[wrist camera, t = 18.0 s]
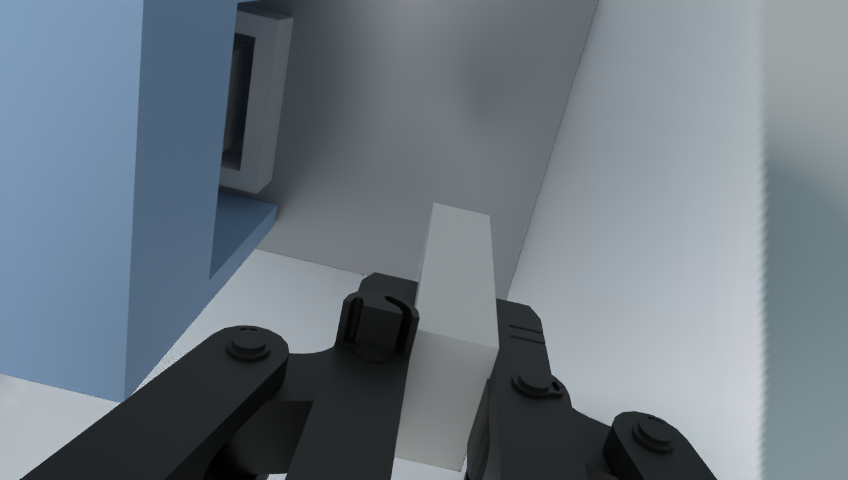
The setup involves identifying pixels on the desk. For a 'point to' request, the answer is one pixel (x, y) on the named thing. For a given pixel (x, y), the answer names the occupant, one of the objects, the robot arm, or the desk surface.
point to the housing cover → (113, 185)
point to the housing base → (401, 122)
